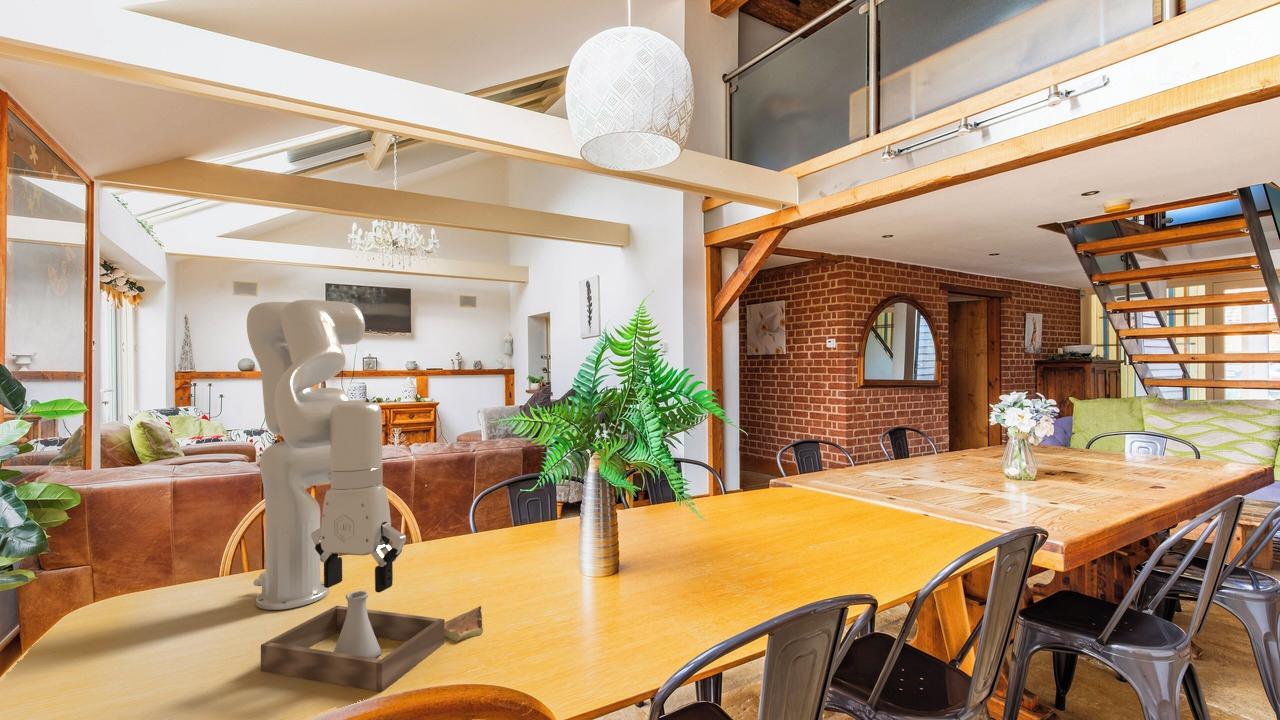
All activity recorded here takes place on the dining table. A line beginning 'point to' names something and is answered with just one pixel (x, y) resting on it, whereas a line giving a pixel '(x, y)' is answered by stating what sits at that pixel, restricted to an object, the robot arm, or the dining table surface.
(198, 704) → the dining table surface
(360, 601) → the flask
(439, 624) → the brown wooden frame
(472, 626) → the shard
